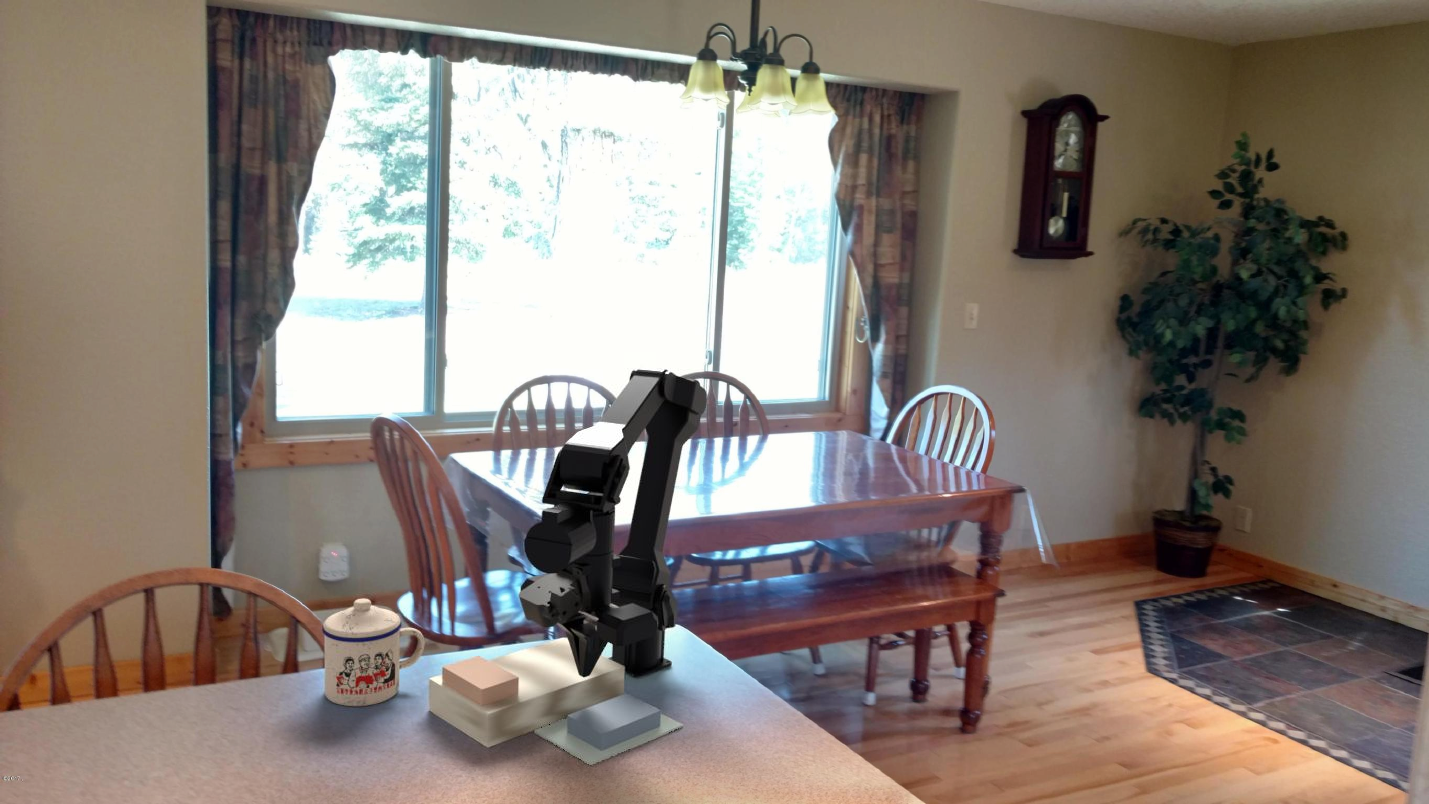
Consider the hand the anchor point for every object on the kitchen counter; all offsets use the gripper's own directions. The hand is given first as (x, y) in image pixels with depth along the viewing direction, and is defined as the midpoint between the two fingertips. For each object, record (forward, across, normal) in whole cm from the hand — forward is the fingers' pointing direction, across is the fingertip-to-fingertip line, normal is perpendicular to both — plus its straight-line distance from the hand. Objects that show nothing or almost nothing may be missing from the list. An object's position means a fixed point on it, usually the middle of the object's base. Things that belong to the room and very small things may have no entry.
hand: (584, 675), depth 127 cm
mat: (+5, +5, 0) cm, 7 cm away
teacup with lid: (+5, -22, -15) cm, 27 cm away
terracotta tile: (+1, -7, -10) cm, 12 cm away
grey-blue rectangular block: (+3, +5, 0) cm, 6 cm away
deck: (+5, -7, -3) cm, 9 cm away
